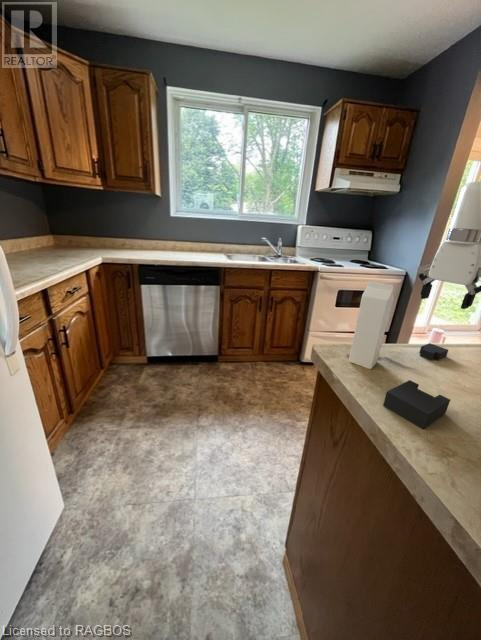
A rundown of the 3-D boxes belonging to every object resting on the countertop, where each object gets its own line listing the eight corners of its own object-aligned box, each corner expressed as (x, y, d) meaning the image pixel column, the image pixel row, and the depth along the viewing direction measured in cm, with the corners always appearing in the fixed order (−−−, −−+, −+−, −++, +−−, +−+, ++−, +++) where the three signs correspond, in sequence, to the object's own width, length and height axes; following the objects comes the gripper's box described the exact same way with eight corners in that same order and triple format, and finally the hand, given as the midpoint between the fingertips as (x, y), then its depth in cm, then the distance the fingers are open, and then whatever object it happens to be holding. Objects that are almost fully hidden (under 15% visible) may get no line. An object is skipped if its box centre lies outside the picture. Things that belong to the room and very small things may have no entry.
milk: (370, 369, 71) (391, 287, 63) (347, 361, 74) (364, 282, 67) (377, 361, 75) (397, 283, 67) (355, 354, 79) (371, 279, 71)
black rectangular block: (426, 353, 82) (429, 343, 80) (444, 360, 78) (448, 349, 76) (414, 358, 78) (418, 347, 77) (433, 366, 74) (437, 354, 73)
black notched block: (405, 393, 61) (409, 379, 60) (445, 413, 55) (450, 399, 54) (382, 405, 57) (386, 391, 56) (423, 429, 50) (428, 414, 49)
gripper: (516, 240, 62) (488, 311, 68) (434, 234, 76) (417, 293, 82) (505, 240, 59) (476, 314, 65) (421, 234, 72) (403, 296, 78)
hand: (443, 303), depth 73 cm, fingers open, 9 cm apart
